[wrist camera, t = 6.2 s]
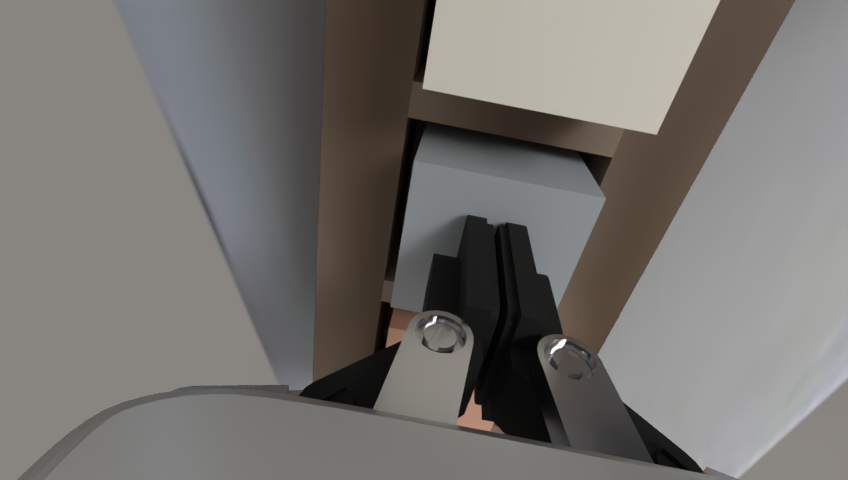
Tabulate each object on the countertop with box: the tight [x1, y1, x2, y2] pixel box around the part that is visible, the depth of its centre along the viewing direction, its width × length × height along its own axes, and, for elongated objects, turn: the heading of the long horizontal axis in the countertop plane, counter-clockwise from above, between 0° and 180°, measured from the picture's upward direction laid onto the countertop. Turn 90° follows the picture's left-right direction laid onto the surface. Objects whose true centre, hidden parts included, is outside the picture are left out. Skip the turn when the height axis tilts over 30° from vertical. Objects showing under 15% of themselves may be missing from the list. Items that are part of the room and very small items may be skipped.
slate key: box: [390, 121, 606, 313], centre depth 14 cm, size 5×5×4 cm
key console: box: [313, 0, 795, 433], centre depth 16 cm, size 11×21×5 cm, turn 171°
